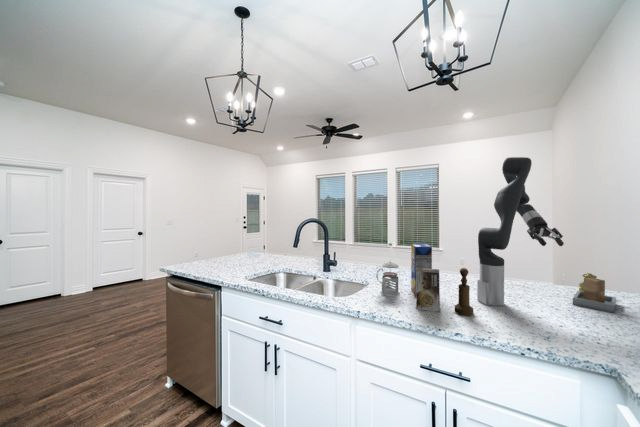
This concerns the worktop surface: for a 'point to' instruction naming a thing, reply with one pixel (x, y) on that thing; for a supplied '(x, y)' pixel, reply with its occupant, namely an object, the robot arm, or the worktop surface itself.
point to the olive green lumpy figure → (583, 281)
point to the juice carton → (419, 261)
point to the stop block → (594, 290)
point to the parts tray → (607, 306)
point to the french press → (394, 278)
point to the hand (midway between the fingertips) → (553, 245)
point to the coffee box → (427, 289)
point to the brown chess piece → (464, 296)
